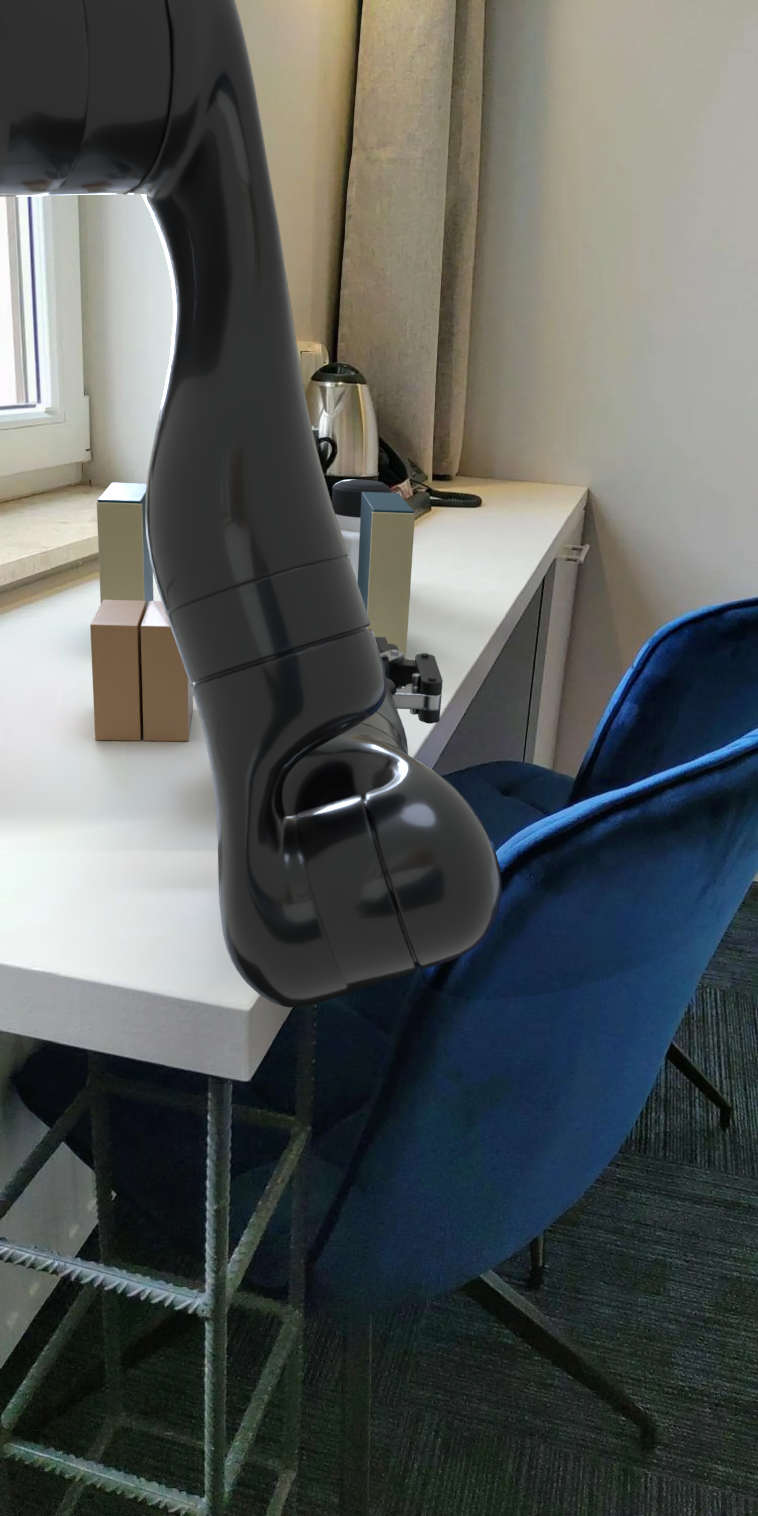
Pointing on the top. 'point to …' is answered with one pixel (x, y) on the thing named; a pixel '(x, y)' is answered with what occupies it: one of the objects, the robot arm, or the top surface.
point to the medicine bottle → (352, 512)
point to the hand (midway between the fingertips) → (313, 649)
